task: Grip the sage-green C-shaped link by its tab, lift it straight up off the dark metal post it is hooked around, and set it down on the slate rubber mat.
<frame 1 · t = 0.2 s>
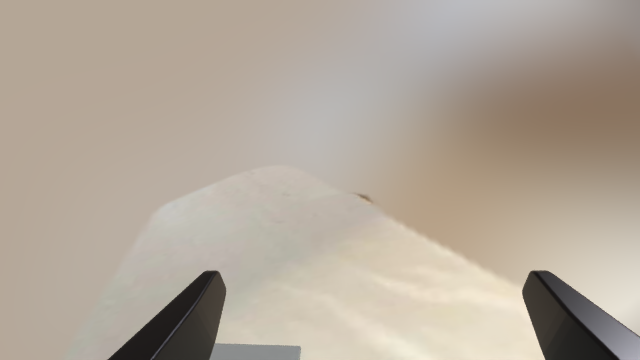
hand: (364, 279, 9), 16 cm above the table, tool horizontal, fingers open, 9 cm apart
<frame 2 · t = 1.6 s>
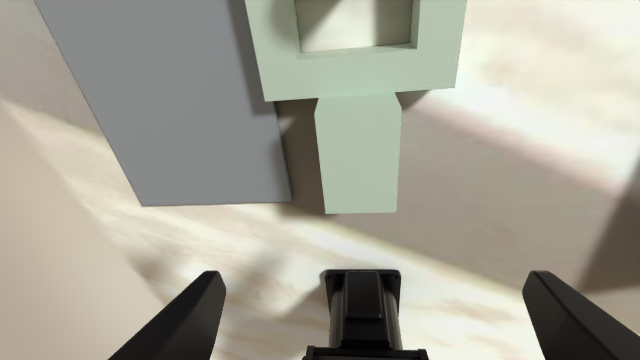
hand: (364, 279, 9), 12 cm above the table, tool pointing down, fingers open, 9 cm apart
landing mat: (169, 65, 18), on the table
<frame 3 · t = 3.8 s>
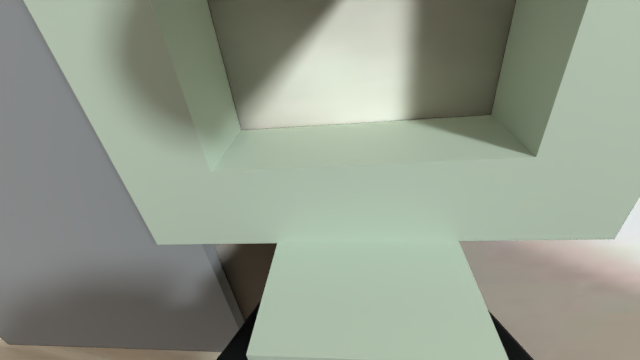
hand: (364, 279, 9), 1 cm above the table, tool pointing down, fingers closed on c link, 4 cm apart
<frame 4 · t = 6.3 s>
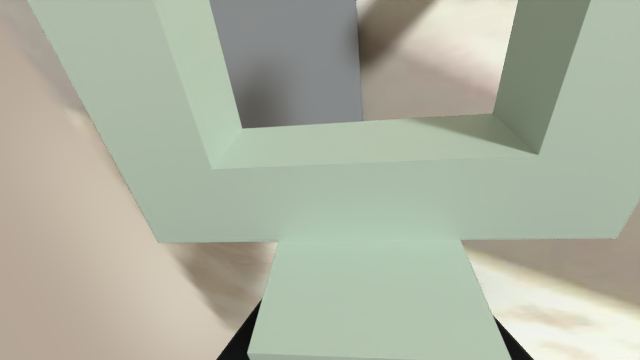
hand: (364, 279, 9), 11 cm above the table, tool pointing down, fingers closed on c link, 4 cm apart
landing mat: (249, 65, 17), on the table
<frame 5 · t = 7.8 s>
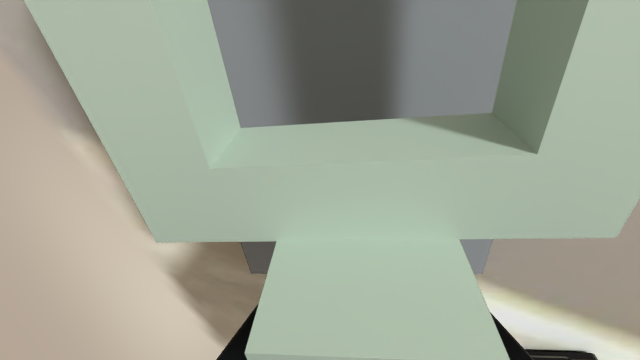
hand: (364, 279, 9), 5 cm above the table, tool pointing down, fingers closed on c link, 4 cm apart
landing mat: (354, 75, 11), on the table
when the fingers open (3 cm above the table, at t = 9.0 s): c link drops 1 cm, resting on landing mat.
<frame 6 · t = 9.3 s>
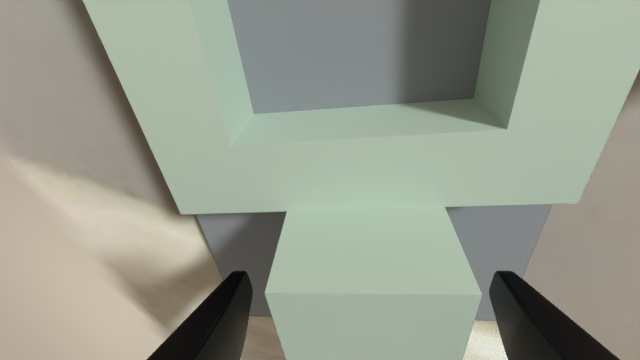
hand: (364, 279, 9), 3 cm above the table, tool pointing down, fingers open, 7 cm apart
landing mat: (357, 100, 9), on the table
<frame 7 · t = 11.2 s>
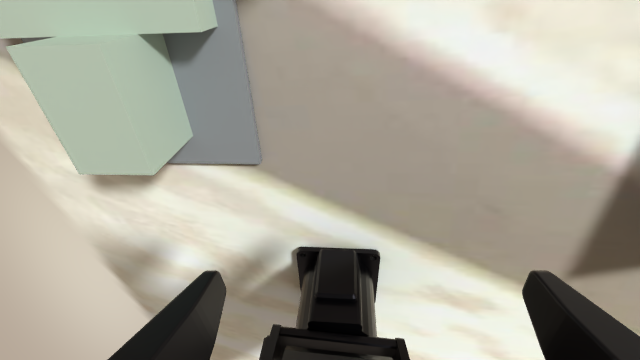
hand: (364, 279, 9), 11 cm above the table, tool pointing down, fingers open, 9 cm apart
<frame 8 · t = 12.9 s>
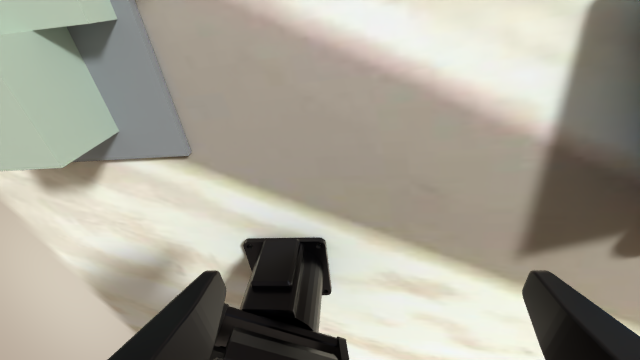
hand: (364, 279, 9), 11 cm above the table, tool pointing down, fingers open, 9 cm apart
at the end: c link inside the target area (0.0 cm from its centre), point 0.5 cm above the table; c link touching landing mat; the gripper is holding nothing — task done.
